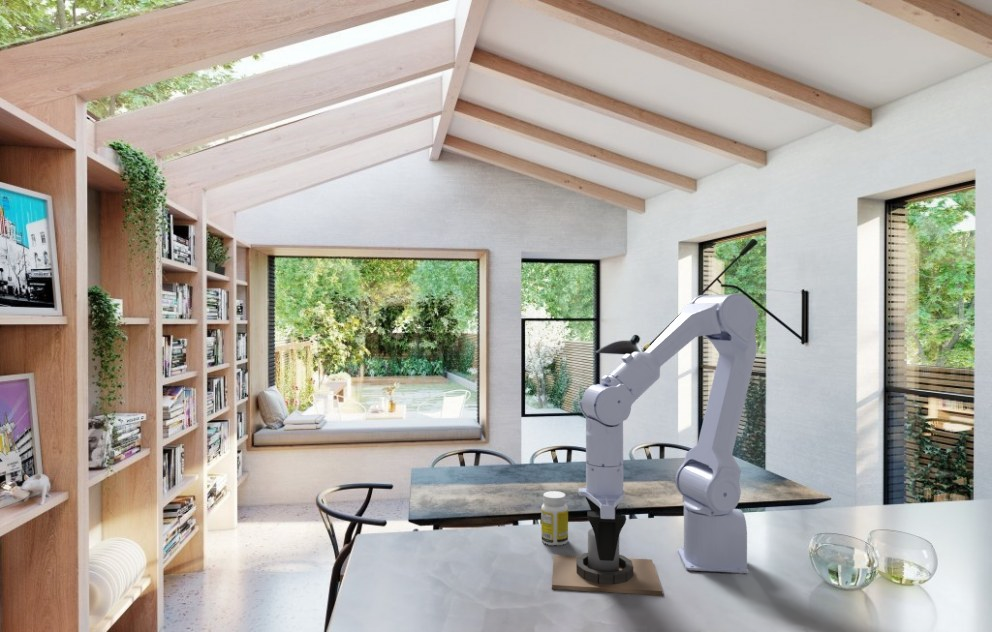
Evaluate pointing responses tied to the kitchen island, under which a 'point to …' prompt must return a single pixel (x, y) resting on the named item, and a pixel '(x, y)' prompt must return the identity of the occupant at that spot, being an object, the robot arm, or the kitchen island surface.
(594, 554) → the cap
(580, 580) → the ring board
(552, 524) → the supplement bottle
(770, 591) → the kitchen island surface
